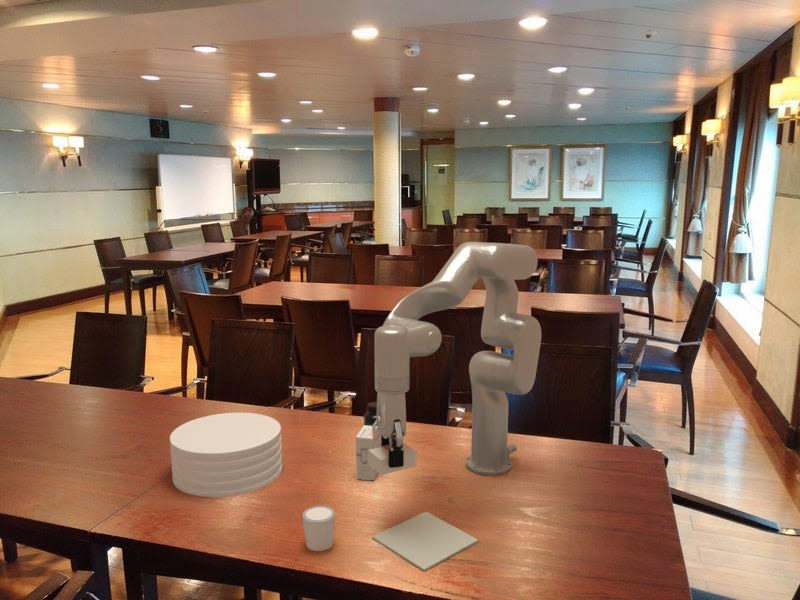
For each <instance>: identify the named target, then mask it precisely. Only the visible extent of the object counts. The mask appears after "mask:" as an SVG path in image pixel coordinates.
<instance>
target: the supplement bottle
mask: <svg viewBox="0 0 800 600" xmlns="http://www.w3.org/2000/svg"><path fill="white" fill-rule="evenodd" d="M376 417H377V401H372V402H369V403H367V404H366V412H365V414H364V416H363V426H364V425H367V426H373V425H374V423H375V422H376ZM376 426H377V424H376ZM381 436H382V434H381ZM381 447H382V440H381Z"/></svg>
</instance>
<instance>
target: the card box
mask: <svg viewBox="0 0 800 600" xmlns="http://www.w3.org/2000/svg"><path fill="white" fill-rule="evenodd" d="M403 449H404V465H403V467H394V468H390V467H389V450H390V444H389V445H385V446H382V447H379V448H375V449H370V450H368V465H369V466H370V467H372V468H373V469H374V470H375V471H376V472H378V474H379V475H380V476H382V475H388V474H391V473H395V472H398V471H402V470H407V469H411V468H414V467H417V466H418V464H417V462H418V461H417V460H418V459H417V456H418V455H417V453H418V452H417V450H415V449H414V448H413V447H412V446H410V445H408V444H407V443H405V442H404V441H403Z"/></svg>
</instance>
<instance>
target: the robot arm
mask: <svg viewBox="0 0 800 600" xmlns="http://www.w3.org/2000/svg"><path fill="white" fill-rule="evenodd" d="M538 260H539V259H538V255H537V253H536V251H535V249H533V248H532V247H531V246H530V245H525V244H515V243H514V244H513V243H504V242H503V243H502V242H485V241H466V242H464V243H462V244H460V245H459V246H458V247H457V248H456V249H455V251H454V252H453V253H452V255H451V256H450V257H449V259H448V260H447V261H446V263H445V264H444V265H443V267H442V268H441V269H440V270H439V272H438V273H437V275H436V276H435V277H434V278H433V280H432V281H431V282H429V283H426V284H425V285H423V286H421V287H419V288H418V289H416V290H414V291H413V292H411V293H409V294H407V295H406V296H405V297H403V298H402V299H401V300H400V301H398V302H397V304H396V305H395V306H394V307H393V309H391V311H390V312H389V314H388V316H387V317H386V318H385V321H384V322H383V325H382V326H379V327H377V328H376V330H375V331H374V390H375V391H376V392H377V394H376V395H377V396H376V402H377V417H376V423H377V427H378V429H379V431H380V433H381V434H382V436H381V440H382V446H385V445H389V444H390V450H389V467H390V468H394V467H403V465H404V449H403V442H404V437H405V436H406V434H407V433H406V432H407V408H406V393H407V392H409V391H410V358H414V357H415V358H417V357H427V356H430V355H432V354H434V353H435V352H436V351H437V350H438V349H439V348H440V346H441V343H442V339H443V337H442V332H441V330H440V329H439V327H438V326H436V325H435V324H434V323H430V322H428V321H422V320H419V319H421V318H422V317H424V316H426V315H430V314H432V313H435V312H440V311H445V310H448V309H451V308H454V307H455V308H456V307H457V306H459V305H461V304H462V303H463V302H464V301H465V299H466V297H467V296H468V295H469V293H470V292H471V290H472V288H473V287H474V285H475V284H476V283H477V281H478V280H479V279H482V280H483V283H484V287H485V301H484V307H483V313H482V320H481V329H480V337H481V339H482V341H483V343H485V344H487V345H489V346H491V347H492V346H493V347H496V348H501V349H505V350H506V349H507V350H510V351H513V355H511V354H507V353H503V352H498V351H494V350H482V351H478V352H476V353H475V354H474V355H473V356H472V357H471V359H470V361H469V365H468V373H469V380H470V384H471V395H472V397H471V398H472V402H471V403H472V405H471V406H472V407H471V408H472V409H471V452H470V453H471V454H469V455H468V456H467V457H466V458H465V463H464V464H465V467H466V468H467V469H468V470H469V471H471V472H472V473H473V472H474V473H475V474H480V475H484V476H499V475H500V476H501V475H503V474H506V473H509V472H510V471H511V470H512V469H513V461H512V460H511V458H510V457H509V456H510V455H511V453H514V452H517V450H518V448H517V447H518V446H517V445H516V444H511V445H508V435H509V434H508V433H509V432H508V429H509V400H508V397H507V394H508V393H509V394H512V395H518V396H524V395H527V394H528V393H530V391H531V390H532V389H533V386H534V385H535V384H534V383H535V380H536V377H537V375H536V374H537V368H538V363H539V362H538V361H539V356H540V349H541V343H542V328H541V324H540V322H539V320H538V319H537V318H536V317H534V316H531V315H528V314H525V313H524V314H523V313H522V314H521V313H518V306H519V305H518V304H519V297H520V296H519V289H518V286H517V284H516V282H515V281H516V280H518V281H519V280H526V279H530V277H532V275H534V273H535V272H536V271H537V267H538ZM506 393H507V394H506Z"/></svg>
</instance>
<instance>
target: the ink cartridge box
mask: <svg viewBox="0 0 800 600" xmlns="http://www.w3.org/2000/svg"><path fill="white" fill-rule="evenodd" d="M376 424H377V423H376V422H375V423H374V425H373V426H367V425H364V424H363V426H362V428H361V429H360V430H359V432H358V433H357V435H356V436H355V452H356V453H355V455H356V456H355V457H356V463H355V464H356V480H359V479H361V481H362V480H363V481H371V480H373V481H375V480H376V478H377V477H378V474H379V473H378V472H376V471H375V470H374V469H373V468H372V467H370V466H369V465H368V450H370V449H375V448H379V447H381V433H380V431H379V429H378V427H377V426H376Z"/></svg>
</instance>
